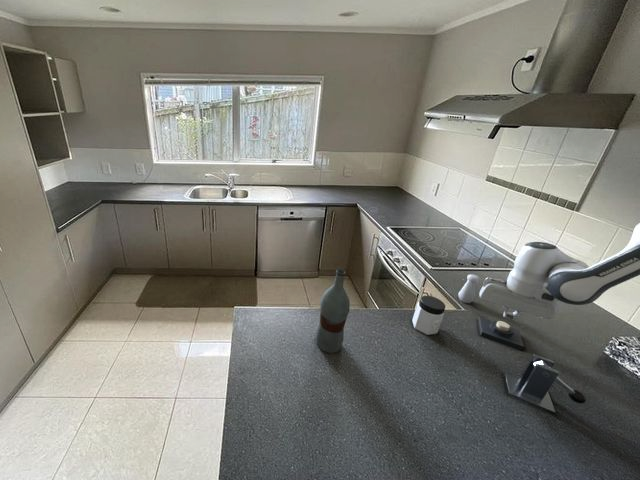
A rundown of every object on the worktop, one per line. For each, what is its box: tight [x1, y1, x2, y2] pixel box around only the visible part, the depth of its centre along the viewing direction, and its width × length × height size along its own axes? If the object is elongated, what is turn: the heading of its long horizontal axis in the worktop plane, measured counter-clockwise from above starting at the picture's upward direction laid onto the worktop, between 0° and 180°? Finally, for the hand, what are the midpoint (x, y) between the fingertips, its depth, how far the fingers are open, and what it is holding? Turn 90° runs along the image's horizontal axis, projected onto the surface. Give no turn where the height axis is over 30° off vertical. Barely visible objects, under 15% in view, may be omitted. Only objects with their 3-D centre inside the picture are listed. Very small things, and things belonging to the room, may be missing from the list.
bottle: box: [315, 268, 351, 354], centre depth 92 cm, size 9×9×30 cm
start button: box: [496, 320, 511, 331], centre depth 104 cm, size 4×4×2 cm
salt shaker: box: [458, 274, 481, 304], centre depth 122 cm, size 6×6×13 cm
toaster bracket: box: [504, 353, 560, 414], centre depth 81 cm, size 10×8×13 cm
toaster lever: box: [533, 360, 587, 404], centre depth 78 cm, size 13×3×3 cm
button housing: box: [477, 316, 525, 351], centre depth 105 cm, size 12×10×4 cm
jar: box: [411, 295, 446, 336], centre depth 106 cm, size 9×8×12 cm
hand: (508, 317), depth 102 cm, fingers closed
